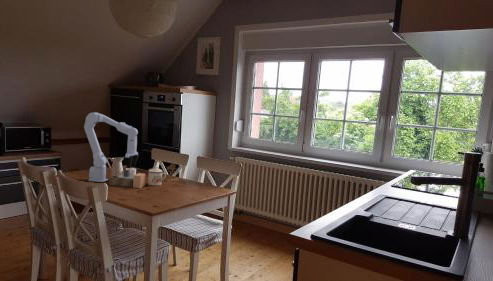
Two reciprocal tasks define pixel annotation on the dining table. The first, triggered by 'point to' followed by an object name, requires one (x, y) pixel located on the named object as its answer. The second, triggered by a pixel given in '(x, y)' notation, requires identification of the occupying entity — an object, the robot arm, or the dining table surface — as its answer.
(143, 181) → the tan square block
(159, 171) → the teacup with lid
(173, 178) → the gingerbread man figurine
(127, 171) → the slide bar
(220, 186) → the dining table surface
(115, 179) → the guide channel
